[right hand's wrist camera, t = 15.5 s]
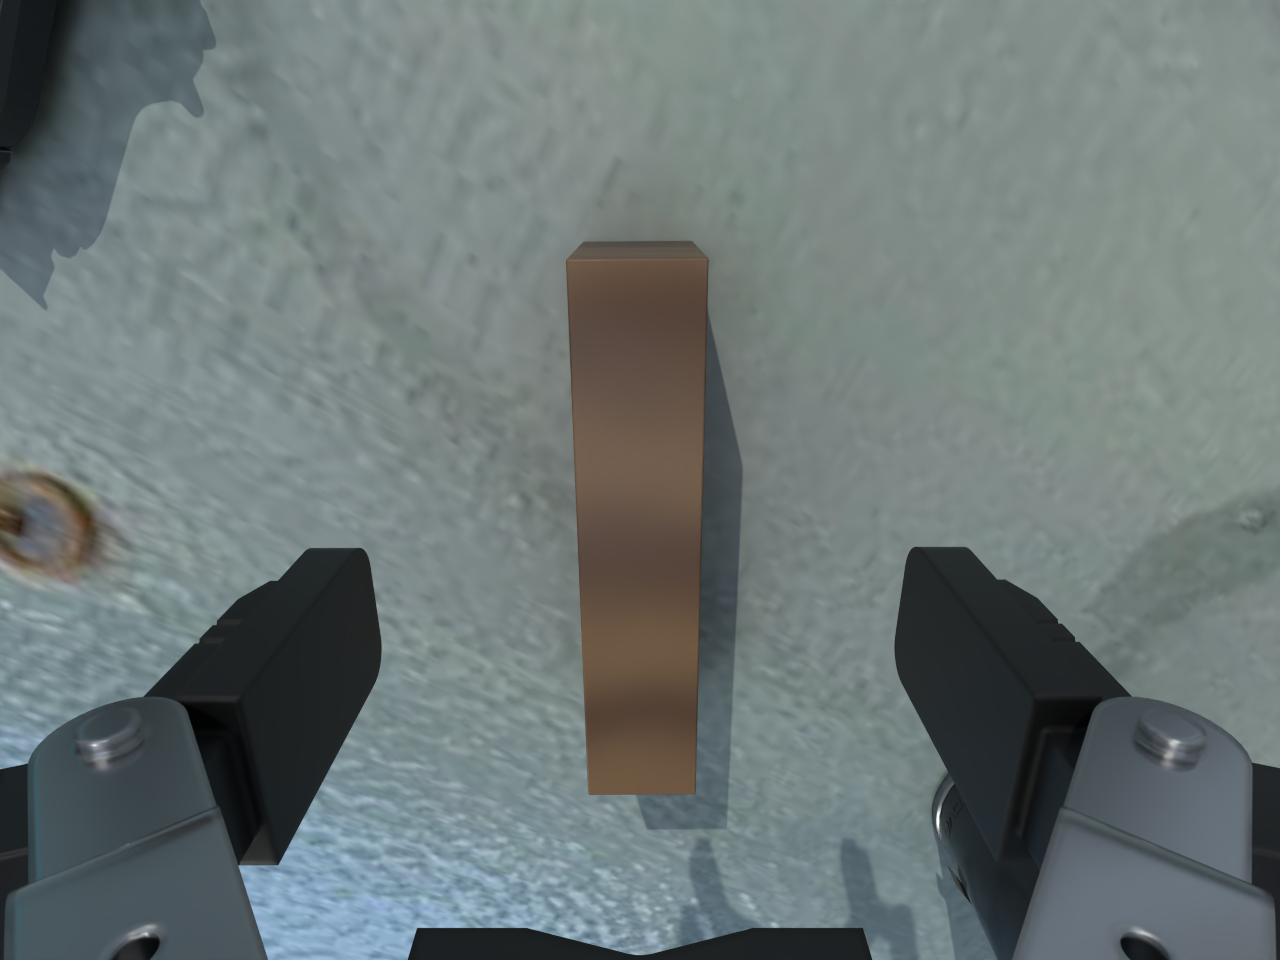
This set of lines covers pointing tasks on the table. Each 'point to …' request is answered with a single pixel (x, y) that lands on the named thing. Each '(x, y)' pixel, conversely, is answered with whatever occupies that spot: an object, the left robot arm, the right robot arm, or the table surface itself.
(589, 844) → the table surface
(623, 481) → the block
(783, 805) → the table surface
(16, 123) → the handgun
